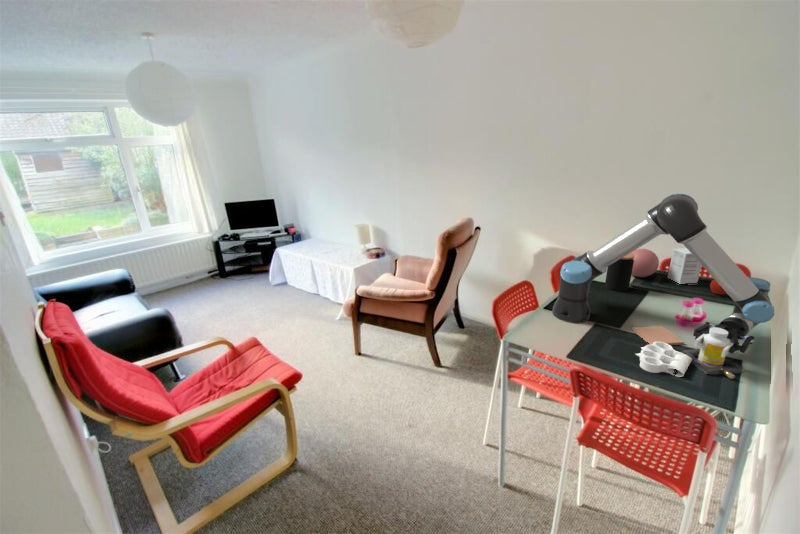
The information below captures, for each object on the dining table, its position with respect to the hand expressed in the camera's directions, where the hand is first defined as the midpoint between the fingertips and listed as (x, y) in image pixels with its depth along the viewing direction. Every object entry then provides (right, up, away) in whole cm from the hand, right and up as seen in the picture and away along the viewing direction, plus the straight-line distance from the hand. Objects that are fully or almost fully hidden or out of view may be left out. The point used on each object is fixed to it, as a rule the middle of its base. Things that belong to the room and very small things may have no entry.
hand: (709, 348), depth 118 cm
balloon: (+27, +22, +80) cm, 87 cm away
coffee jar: (+9, +16, +66) cm, 69 cm away
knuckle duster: (-10, -7, +8) cm, 15 cm away
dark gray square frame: (+5, -7, +4) cm, 9 cm away
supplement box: (+45, +19, +70) cm, 85 cm away
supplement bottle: (+5, -7, +5) cm, 10 cm away
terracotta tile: (-1, -1, +22) cm, 22 cm away
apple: (+50, +13, +54) cm, 75 cm away
